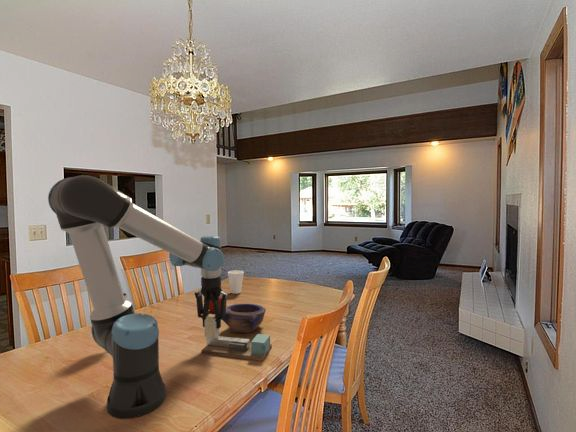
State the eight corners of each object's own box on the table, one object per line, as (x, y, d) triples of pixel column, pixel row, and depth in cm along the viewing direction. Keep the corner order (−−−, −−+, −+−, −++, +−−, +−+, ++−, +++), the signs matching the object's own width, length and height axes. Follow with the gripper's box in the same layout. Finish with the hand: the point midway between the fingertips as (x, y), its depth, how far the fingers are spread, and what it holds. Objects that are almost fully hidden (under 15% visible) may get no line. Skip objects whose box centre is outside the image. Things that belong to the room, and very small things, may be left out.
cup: (247, 292, 201) (247, 271, 201) (236, 296, 193) (236, 274, 192) (235, 289, 207) (235, 269, 206) (224, 293, 198) (224, 272, 198)
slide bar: (247, 349, 120) (246, 320, 119) (206, 344, 124) (206, 316, 123) (249, 346, 122) (249, 317, 122) (210, 341, 126) (209, 314, 126)
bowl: (270, 323, 149) (270, 302, 148) (256, 339, 132) (256, 315, 131) (235, 319, 154) (234, 299, 153) (217, 334, 136) (216, 311, 136)
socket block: (264, 355, 116) (264, 343, 115) (251, 353, 117) (251, 341, 117) (270, 346, 122) (270, 335, 122) (257, 345, 124) (257, 333, 123)
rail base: (262, 360, 114) (262, 351, 114) (201, 353, 120) (201, 343, 120) (271, 347, 124) (271, 338, 124) (215, 340, 130) (215, 332, 130)
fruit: (203, 313, 162) (203, 294, 162) (212, 307, 172) (212, 289, 171) (221, 315, 160) (220, 295, 160) (228, 309, 169) (228, 290, 169)
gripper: (234, 275, 125) (235, 334, 126) (197, 272, 129) (198, 330, 130) (226, 279, 118) (227, 342, 119) (186, 277, 122) (187, 337, 123)
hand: (211, 335), depth 124 cm, fingers closed on slide bar, 3 cm apart
